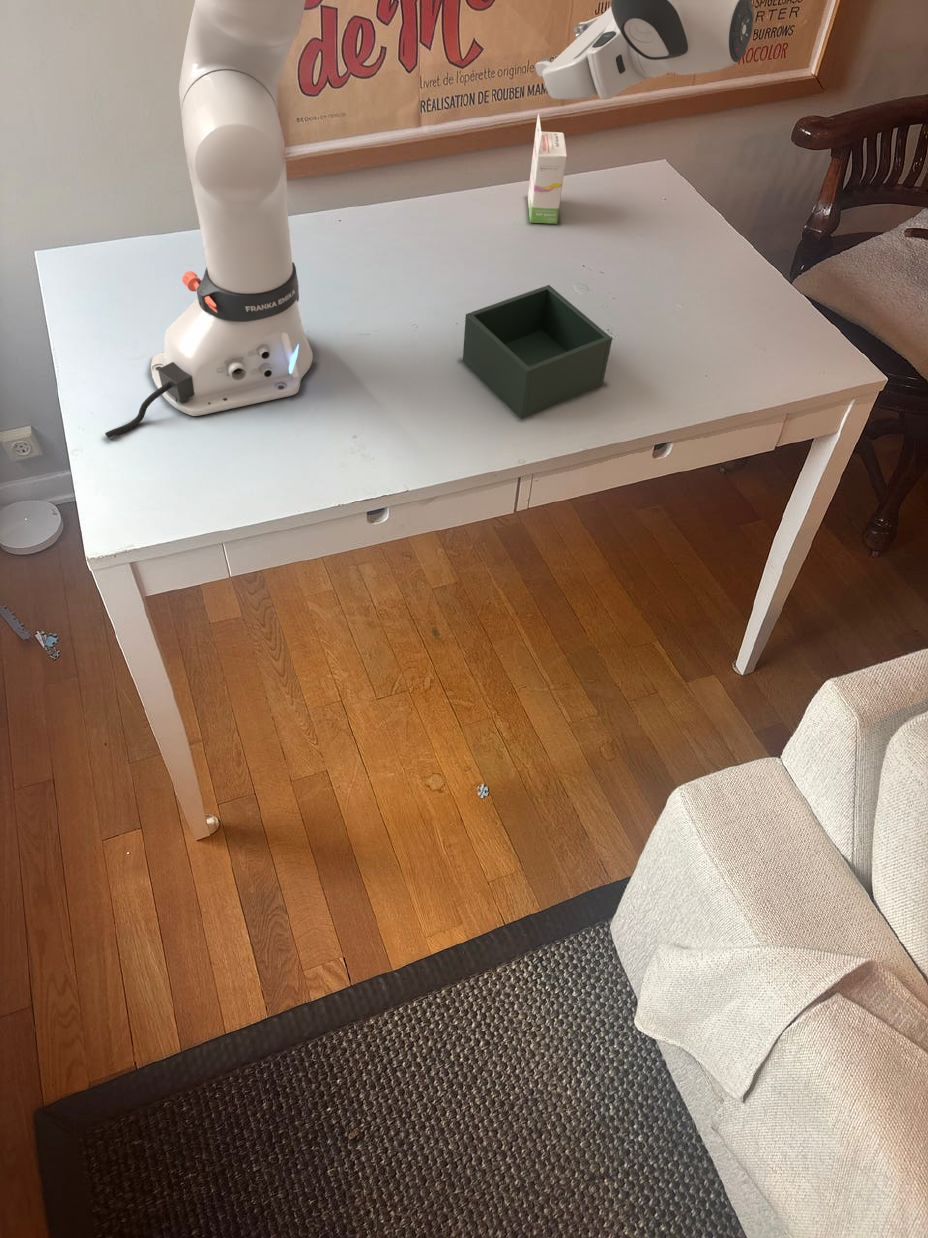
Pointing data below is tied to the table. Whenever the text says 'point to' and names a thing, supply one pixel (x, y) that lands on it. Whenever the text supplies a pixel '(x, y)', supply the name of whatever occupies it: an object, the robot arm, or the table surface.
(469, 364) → the open storage bin
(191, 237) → the table surface
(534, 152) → the ink box
